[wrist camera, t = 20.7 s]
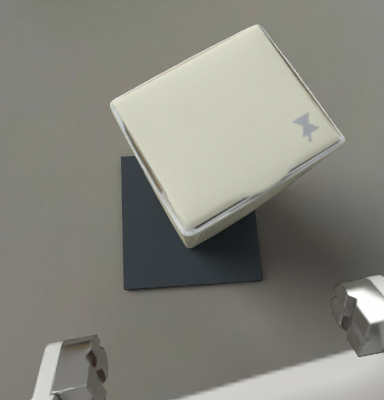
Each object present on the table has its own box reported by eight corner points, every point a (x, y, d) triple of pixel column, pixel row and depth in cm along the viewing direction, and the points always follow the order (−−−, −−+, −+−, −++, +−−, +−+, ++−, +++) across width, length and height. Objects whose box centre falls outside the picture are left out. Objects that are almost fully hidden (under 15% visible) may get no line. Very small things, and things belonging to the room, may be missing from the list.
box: (222, 151, 20) (269, 12, 9) (259, 209, 19) (361, 137, 8) (148, 192, 19) (101, 97, 8) (184, 253, 18) (185, 241, 7)
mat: (260, 280, 18) (262, 280, 18) (124, 289, 18) (123, 289, 18) (247, 151, 20) (248, 149, 20) (121, 158, 20) (121, 156, 19)
